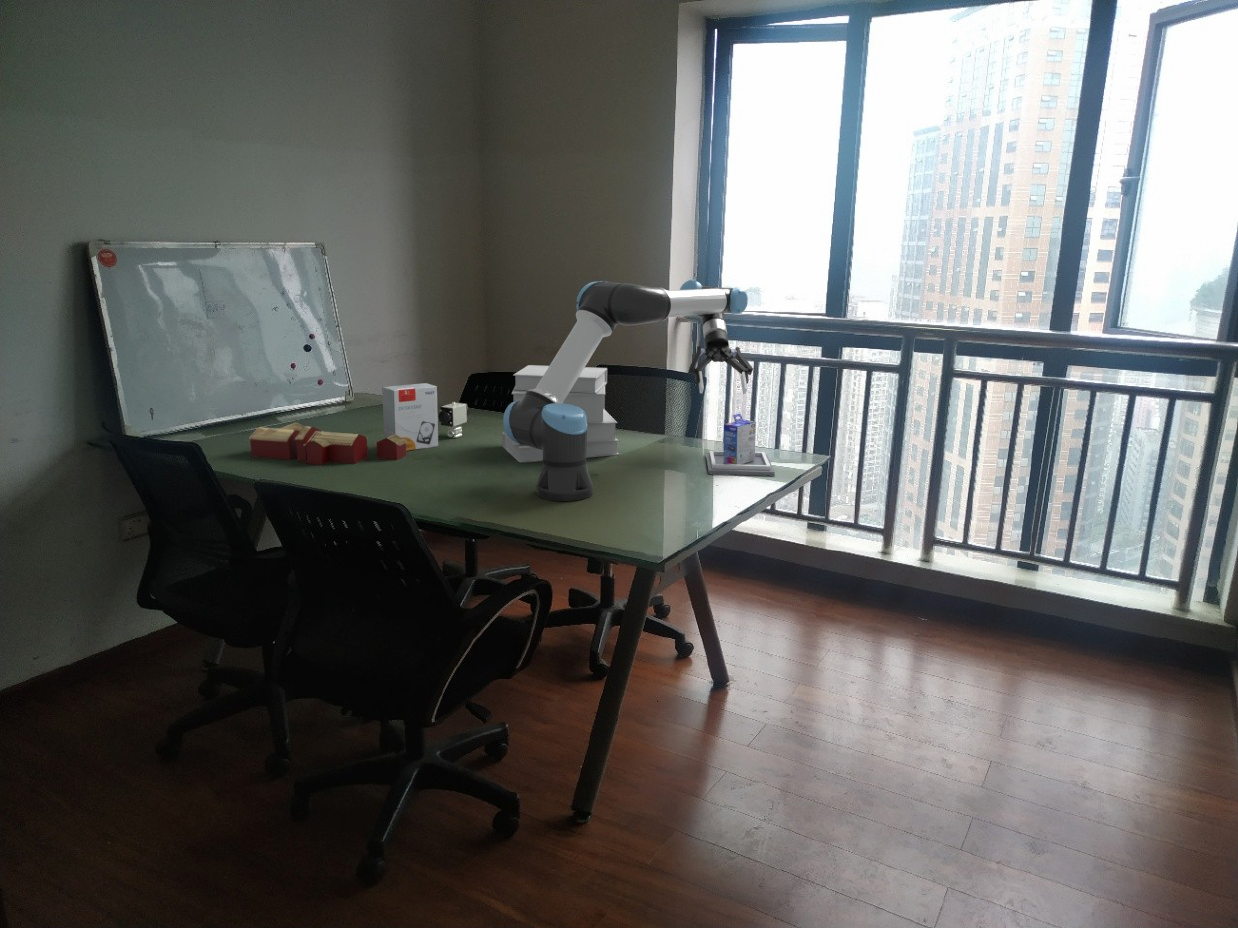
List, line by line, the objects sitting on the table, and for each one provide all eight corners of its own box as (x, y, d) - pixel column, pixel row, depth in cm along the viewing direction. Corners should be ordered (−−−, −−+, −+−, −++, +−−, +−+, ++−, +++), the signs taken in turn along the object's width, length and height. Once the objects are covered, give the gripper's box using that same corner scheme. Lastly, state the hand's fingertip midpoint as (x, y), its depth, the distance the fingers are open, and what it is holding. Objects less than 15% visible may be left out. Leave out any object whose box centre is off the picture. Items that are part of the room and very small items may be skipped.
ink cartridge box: (740, 457, 267) (743, 411, 263) (755, 460, 263) (758, 414, 259) (721, 463, 260) (723, 416, 256) (736, 466, 256) (739, 418, 252)
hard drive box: (394, 453, 270) (391, 390, 265) (384, 448, 275) (380, 386, 270) (439, 446, 279) (437, 385, 274) (428, 442, 285) (425, 382, 280)
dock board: (708, 474, 252) (709, 466, 251) (706, 456, 272) (706, 448, 272) (774, 476, 251) (774, 468, 250) (766, 458, 271) (767, 450, 271)
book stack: (495, 444, 284) (493, 366, 277) (596, 437, 296) (596, 362, 290) (518, 467, 257) (516, 381, 250) (627, 458, 269) (629, 376, 262)
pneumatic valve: (470, 434, 297) (469, 399, 294) (450, 441, 286) (449, 405, 283) (457, 432, 299) (456, 398, 296) (436, 439, 289) (435, 404, 286)
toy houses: (246, 459, 261) (242, 427, 258) (286, 444, 280) (283, 413, 278) (382, 470, 251) (380, 437, 249) (414, 454, 271) (412, 422, 268)
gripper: (751, 344, 281) (760, 398, 270) (675, 343, 278) (681, 397, 268) (756, 330, 275) (766, 384, 264) (679, 328, 272) (685, 383, 261)
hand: (723, 391), depth 266 cm, fingers open, 13 cm apart
